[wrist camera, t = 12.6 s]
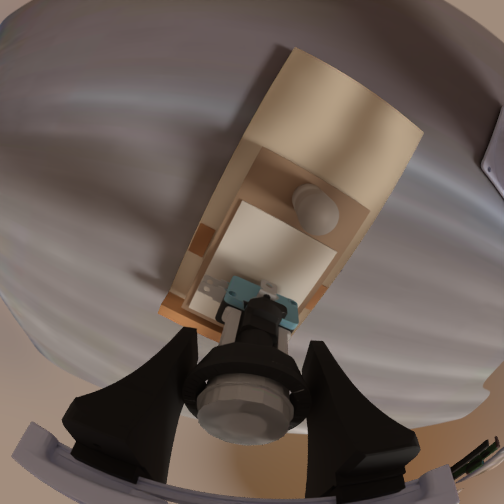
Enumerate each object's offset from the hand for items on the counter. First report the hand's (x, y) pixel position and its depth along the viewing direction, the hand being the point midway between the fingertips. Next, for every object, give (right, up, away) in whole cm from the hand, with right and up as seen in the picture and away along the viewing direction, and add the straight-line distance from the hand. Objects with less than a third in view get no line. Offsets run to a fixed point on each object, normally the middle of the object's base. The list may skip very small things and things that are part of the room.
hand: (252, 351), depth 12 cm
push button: (0, +2, +6) cm, 6 cm away
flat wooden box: (+3, +7, +7) cm, 11 cm away
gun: (+69, -66, +34) cm, 101 cm away
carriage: (+1, +4, +7) cm, 9 cm away
